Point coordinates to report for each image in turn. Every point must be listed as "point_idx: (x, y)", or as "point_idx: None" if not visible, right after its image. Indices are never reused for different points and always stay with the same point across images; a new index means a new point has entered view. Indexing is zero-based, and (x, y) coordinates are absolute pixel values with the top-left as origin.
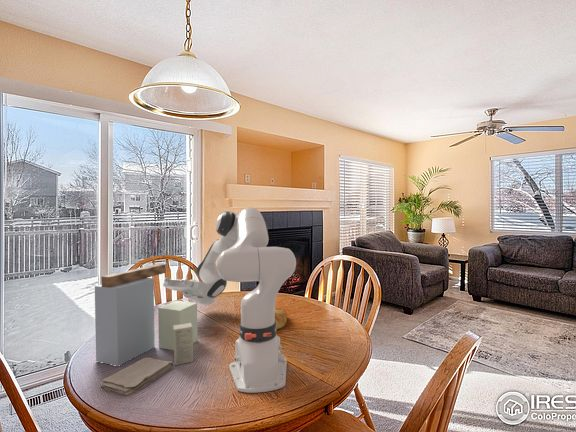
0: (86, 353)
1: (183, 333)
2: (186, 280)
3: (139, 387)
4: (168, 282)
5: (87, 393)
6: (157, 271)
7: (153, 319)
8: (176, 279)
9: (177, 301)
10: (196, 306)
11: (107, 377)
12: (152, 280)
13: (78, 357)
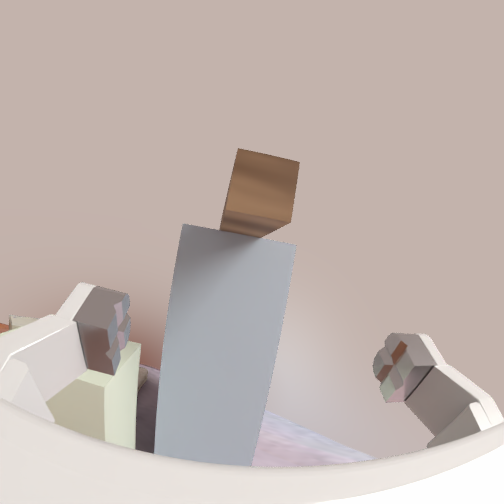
0: (299, 433)
1: None
2: (70, 305)
3: None
4: (382, 394)
5: (154, 372)
6: (226, 201)
7: (158, 390)
8: (458, 442)
9: (91, 376)
10: None
11: (144, 371)
12: (182, 232)
13: (292, 423)
